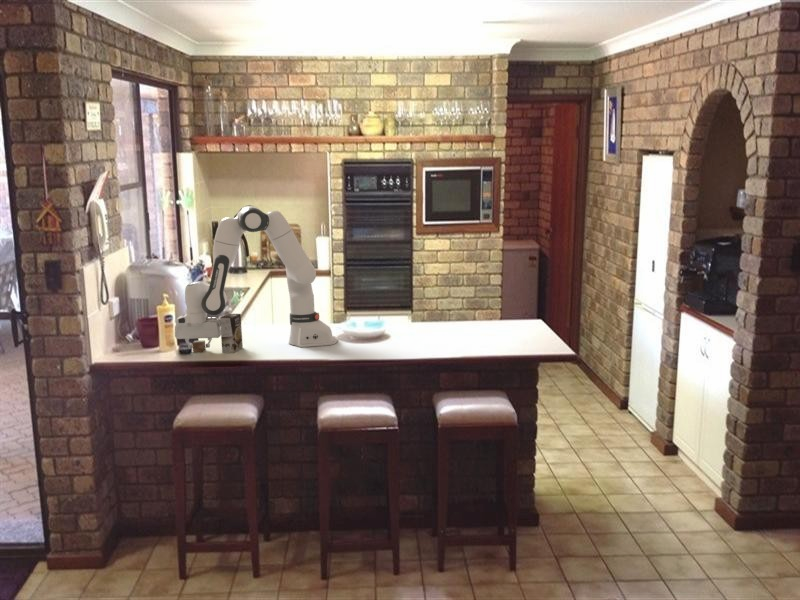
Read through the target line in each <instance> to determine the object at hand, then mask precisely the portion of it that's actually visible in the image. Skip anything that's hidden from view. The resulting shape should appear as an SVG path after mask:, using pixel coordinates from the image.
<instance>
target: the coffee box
mask: <svg viewBox="0 0 800 600" xmlns="http://www.w3.org/2000/svg"><path fill="white" fill-rule="evenodd" d="M219 319H220V329H221V336H220V337H221V339H220V340H221V341H220V342H221V352H222V353H228V354H229V353H230V354H235V353H237V352H238V351H240V350H242V349H243V348H244V347H243V331H242V330H243V329H242V315H241V313H227V314H224V315H223V316H220V318H219Z"/></svg>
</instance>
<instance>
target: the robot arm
mask: <svg viewBox="0 0 800 600" xmlns="http://www.w3.org/2000/svg"><path fill="white" fill-rule="evenodd" d="M262 231H263V232H264V233H265V234H266V236H267V237H268V239H269V242H270V243H271V245H272V247H273V248H274V251H275V252H276V255H277V256H278V257H279V259H280V260H281V262H282V263H283V265H284V266H285V274H286V282H287V287H288V288H287V289H288V292H289V293H288V294H289V306H290V313H289V324H290V335H289V339H288V344H289V345H292V346H295V347H296V346H297V347H298V348H299V347H300V348H308V347H310V348H311V347H319V346H321V347H323V346H333V345H335V344H337V342H338V338H337V337H336V336H334V335H333V332H332V329H331V327H330V326H329V325H328V324H326V323H325V322H323V321H321V320H320V313H319V312H316V311H315V297H314V291H313V287H312V283H314V281H315V280H316V277H317V272H316V271H317V270H316V268H315V267H314V265H313V263H312V261H311V259H310V258H309V256H308V254H307V253H306V251H305V250H304V248H303V247H302V246H301V245H302V244H301V243H300V242H299V240H298V238H297V236H296V234H295V232H294V230H293V229H292V227H291V225H290V224H289V222H288V220H287V218H285V216H284V215H283V214H282V213H281V212H280V211H279V210H271V211H268V212H263V210H261V209H260V208H258V206H257V207H256V206H254V205H250V204H249V205H245V206H243V207H241V208H240V209H239V210H238V211H237V213H236V214H235V215H234V216H233V217H230V216H229V217H223V218H222V219H221V220H220V221H219V224H218V226H217V228H216V231H215V235H214V240H213V247H212V273H211V277H210V282H209V285H208V284H206V283H205V282H203V281H201V280H200V281H193V282H190V283H188V284H187V285H186V286H185V288H184V300H185V301H184V303H185V305H186V309H185V313H184V314H182V315H179V316H178V317H177V318H176V319H175V323H176V324H175V326H174V337H175V339H177V340H184V341H185V343H186V345H187V347H188V349H193V345H192V343H191V342H190V340H191V339H194V340H195V339H207V341H208V342H205V348H206V349H208V348H210V347H211V342H212V340H213V339H219V338H220V337H221V326H220V318H218V317H216V316H217V315H221V313H222V312H223V311H224V310H225V308H226V304H227V302H228V301H227V300H228V295H227V293H226V291H225V287H226V281H227V277H228V273H229V270H230V268H231V267H232V265H233V264H234V261H235V260H236V257H237V254H238V252H239V248H240V243H241V239H242V236H243V234H244V233H245V232H249V233H259V232H262ZM208 315H209V316H210V315H211V316H213V317H209V316H208ZM214 316H215V317H214Z"/></svg>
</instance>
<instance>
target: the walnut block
mask: <svg viewBox="0 0 800 600" xmlns="http://www.w3.org/2000/svg"><path fill="white" fill-rule="evenodd" d="M191 344H192V346H193V347H192V353H193V354H194V353H196V354H197V353H204V352H205V351H206V349H207V348H206V340H204V339H203V340H202V339H201V340H194V341H193V342H192V343H191Z"/></svg>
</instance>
